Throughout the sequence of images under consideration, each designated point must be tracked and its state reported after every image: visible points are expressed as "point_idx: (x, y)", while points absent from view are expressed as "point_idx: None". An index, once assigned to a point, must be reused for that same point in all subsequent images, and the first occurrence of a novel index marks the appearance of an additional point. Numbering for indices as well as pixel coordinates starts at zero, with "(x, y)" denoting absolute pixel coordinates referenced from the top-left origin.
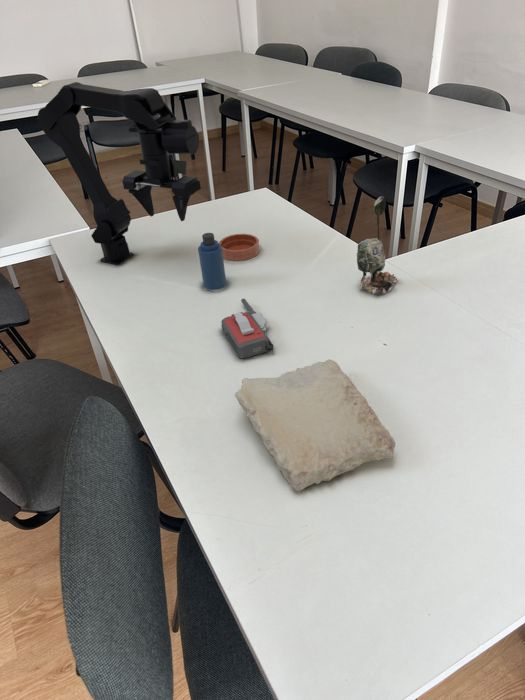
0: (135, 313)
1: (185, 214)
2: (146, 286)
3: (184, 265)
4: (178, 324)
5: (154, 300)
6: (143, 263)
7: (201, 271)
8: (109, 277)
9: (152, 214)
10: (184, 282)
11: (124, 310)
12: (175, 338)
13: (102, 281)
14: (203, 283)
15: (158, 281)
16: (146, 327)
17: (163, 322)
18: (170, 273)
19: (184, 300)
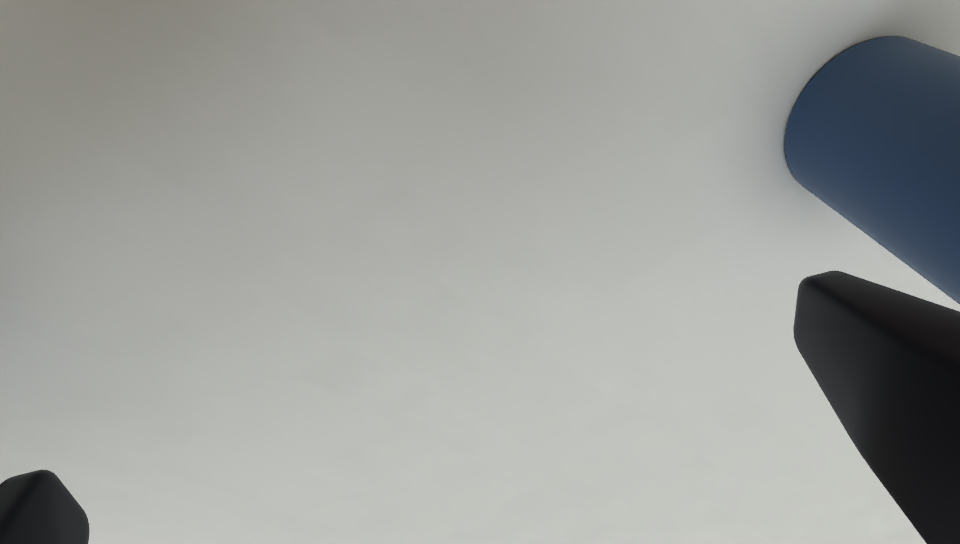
0: (593, 519)
1: (948, 318)
2: (431, 377)
3: (430, 16)
4: (835, 453)
5: (596, 423)
6: (69, 206)
7: (879, 242)
8: (101, 456)
9: (64, 522)
10: (627, 210)
11: (525, 537)
12: (870, 501)
13: (122, 498)
14: (824, 202)
15: (450, 302)
16: (714, 532)
17: (762, 481)
18: (434, 184)
19: (754, 335)
